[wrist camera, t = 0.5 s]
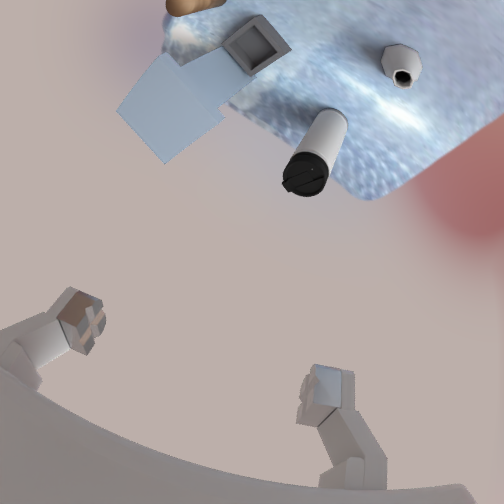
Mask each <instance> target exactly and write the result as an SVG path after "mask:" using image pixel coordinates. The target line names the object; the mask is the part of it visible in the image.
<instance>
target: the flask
mask: <svg viewBox="0 0 504 504" xmlns="http://www.w3.org/2000/svg"><path fill="white" fill-rule="evenodd" d="M381 63H382V66H383V69H384V72H385V74H386V76H387V77H389V78H391V79H392V80H393V83H394V86H397V87H399V88H401V89H408V88H411V87H412V85H413V82H414V81H418V78H419V76H420V73H421V71H422V68H423V66H422V63H421V60H420V57H419V54H418V51H416V50H414V49H412V48H409V47H407V46H405V45H403V44H399V45H393V46H388V47H385V50H384V53H383V56H382V59H381Z"/></svg>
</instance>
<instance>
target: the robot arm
mask: <svg viewBox="0 0 504 504" xmlns="http://www.w3.org/2000/svg"><path fill="white" fill-rule="evenodd" d="M102 307H103V303H102V300H100V299H98V298H96V297H93V296H91V295H89V294H86V293H84V292H82V291H80V290H77V289H75V288H72V287H69V288H67V289H66V290H65V291H64V292H63V293H62V294H61V295H60V297H59V298H58V299H57V300H56V302H55V303H54V304H53V305H52V306H51V308H50V309H49V310H48V311H47V312H46V313H45V312H42V313H40V314H37V315H35V316H33V317H31V318H28V319H26V320H23V321H21V322H19V323H16V324H14V325H12V326H10V327H7V328H5V329H2V330H0V504H477V503H476V501H475V500H474V498H473V496H472V495H471V494H470V492H469V491H468V490H467V488H466V487H465V486H464V485H462V484H451V485H443V486H435V487H426V488H414V489H399V490H387V457H386V455H385V454H384V452H383V450H382V449H381V447H380V445H379V444H378V442H377V440H376V439H375V437H374V436H373V434H372V432H371V431H370V429H369V427H368V426H367V424H366V423H365V421H364V419H363V418H362V416H361V414H360V413H359V411H355V374H354V372H353V371H348V370H342V369H339V368H334V367H328V366H323V365H318V364H314V365H313V366H312V367H311V369H310V374H308V375H306V377H305V378H304V380H303V383H302V386H301V390H300V396H299V398H300V400H301V401H302V403H301V404H300V406H299V407H298V411H297V420H296V423H297V424H302V425H307V426H312V427H318V428H317V430H318V432H319V434H320V437H321V439H322V441H323V444H324V446H325V448H326V450H327V453H328V455H329V457H330V460H331V462H332V464H333V466H334V467H333V468H331V469H330V470H328V471H326V472H324V473H323V474H321V475H320V479H319V487H318V488H317V487H307V486H298V485H291V484H283V483H277V482H271V481H265V480H259V479H255V478H250V477H245V476H240V475H235V474H232V473H227V472H223V471H219V470H216V469H211V468H208V467H205V466H201V465H198V464H194V463H191V462H187V461H185V460H181V459H178V458H175V457H172V456H170V455H167V454H164V453H161V452H158V451H156V450H153V449H150V448H147V447H145V446H143V445H140V444H138V443H135V442H133V441H130V440H128V439H126V438H123V437H121V436H118V435H117V434H114V433H112V432H110V431H108V430H106V429H104V428H101V427H99V426H97V425H95V424H93V423H91V422H89V421H87V420H85V419H83V418H82V417H80V416H78V415H76V414H74V413H72V412H70V411H69V410H67V409H65V408H63V407H62V406H60V405H58V404H56V403H55V402H53V401H51V400H50V399H48V398H46V397H45V396H43V395H42V394H40V393H38V392H37V389H38V388H39V386H40V385H41V383H42V378H41V377H40V375H39V374H38V372H37V369H39V368H40V367H42V366H44V365H45V364H47V363H49V362H50V361H52V360H54V359H55V358H57V357H59V356H60V355H62V354H63V353H65V352H67V351H68V350H70V348H71V349H73V350H75V351H77V352H80V353H82V354H84V355H88V353H89V352H90V350H91V349H92V347H93V346H94V344H95V341H94V338H96V337H97V336H100V335H101V333H102V332H103V330H104V327H105V324H106V316H105V313H104V312H103V310H102Z"/></svg>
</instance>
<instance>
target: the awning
mask: <svg viewBox="0 0 504 504" xmlns="http://www.w3.org/2000/svg"><path fill="white" fill-rule="evenodd" d="M255 78H257V77H256V76H255V75H253V76H252V77H250V76H249V75H248V74H247V73H246V72H245V70H244V69H243V68H242V67H241V66H240V65H239V63H238V62H237V61H236V60H235V59H234V58H233V56H232V55H231V54H230V53H229V52H228V51H227V50H226V48H225V47H224V46H221V47H219V48H217V49H215V50H213V51H211V52H209V53H207V54H205V55H203V56H201V57H199V58H197V59H195V60H193V61H191V62H189V63H187V64H185V65H183V66H182V67H181V66H180V65H179V64H178V63H177V62H176V61H175V60H174V59H173V58H172V57H171V56H170V55H169V53H168V52H166V53H163V54H161V55H159V56H158V57H157V58H156V59H155V61H154V62H153V63H152V64H151V65H150V66H149V68H148V69H147V70H146V71H145V73H144V74H143V75H142V76H141V78H140V79H139V80H138V82H137V83H136V84H135V86H134V87H133V88H132V90H131V91H130V92H129V93H128V95H127V96H126V98H125V99H124V100H123V102H122V103H121V105H120V106H119V108H118V109H117V110H116V112H117V113H118V114H119V115H120V116H121V117H122V118H123V119H124V121H126V123H127V124H128V125H129V126H130V127H131V128H132V129H133V130H134V131H135V133H137V135H138V136H139V137H140V138H141V139H142V140H143V141H144V142H145V144H146V145H147V146H148V147H149V148H150V149H151V150H152V151H153V152H154V153H155V154H156V156H157V157H158V158H159V159H160V160H161V161H162V162H163V163H164V164H166V163H167V162H168V161H170V160H171V159H172V158H173V157H175V156H176V155H177V154H178V153H180V152H181V151H182V150H184V149H185V148H186V147H188V146H189V145H190V144H192V143H193V142H194V141H196V140H197V139H198V138H199V137H201V136H202V135H204V134H205V133H206V132H207V131H209V130H210V129H212V128H213V127H215V126H216V125H217V124H219V123H220V122H221V121H222V120H223V119H224V118H225V117H224V115H223V114H222V113H221V112H220V111H219V110H218V107H220V106H221V105H222V104H223V103H225V102H226V101H227V100H228V99H230V98H231V97H232V96H233V95H235V94H236V93H237V92H238V91H240V90H241V89H242V88H244V87H245V86H246V85H247V84H249V83H250V82H251V81H253V80H254V79H255Z"/></svg>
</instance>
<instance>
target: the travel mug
mask: <svg viewBox="0 0 504 504" xmlns="http://www.w3.org/2000/svg"><path fill="white" fill-rule="evenodd" d="M347 129H348V121H347V119H346V117H345V116H344V114H342V113H341V112H340V111H338V110H336V109H331V108H328V109H324V110H322V111H320V112H319V113H318V115H317V117H316V118H315V120H314V121H313V123H312V125H311V126H310V128H309V129H308V131H307V133H306V134H305V136H304V138H303V139H302V141H301V142H300V144H299V146H298V147H297V149H296V151H295V152H294V154H293V156H292V157H291V159H290V161H289V163H288V164H287V166H286V168H285V169H284V172H283V180H284V181H283V182H282V185H283V186H284V188H285V189H286V190H287V191H288V192H293V193H295V194H296V195H299V196H303V197H311V196H315V195H317V194H319V193H320V192H321V191H322V190H323V188H324V186H325V184H326V181H327V179H328V177H329V175H330V173H331V170H332V168H333V165H334V163H335V160H336V157H337V155H338V152H339V150H340V147H341V145H342V142H343V139H344V137H345V134H346V132H347Z"/></svg>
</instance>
